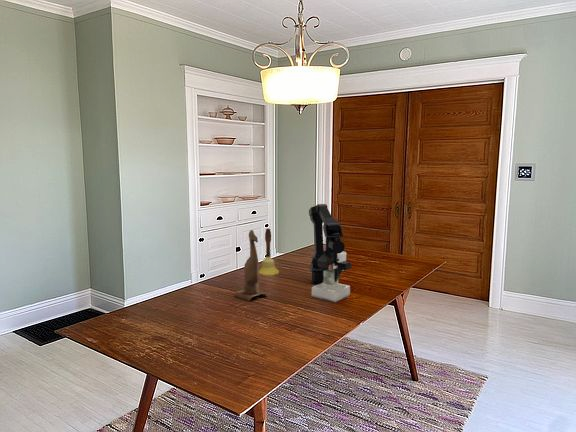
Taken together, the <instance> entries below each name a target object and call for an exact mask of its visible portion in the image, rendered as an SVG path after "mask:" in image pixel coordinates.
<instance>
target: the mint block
mask: <svg viewBox="0 0 576 432" xmlns="http://www.w3.org/2000/svg"><path fill="white" fill-rule="evenodd" d="M324 283H325V284H329V285H334V284H337V283H339V279H338V280H337V282H335V271H334V269H333V268H329V269H327V270H325V271H324Z"/></svg>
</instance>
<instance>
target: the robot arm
mask: <svg viewBox="0 0 576 432" xmlns="http://www.w3.org/2000/svg"><path fill="white" fill-rule="evenodd" d="M308 216H309V219H310V220H309V221H311V222H312V225H313V238H314V239H313V243H314V253H313V255H312V257H311V261H310V263H309V271H310V272H311V281H310V282H309V283H310V284H314V285H318V284H321V283H323V282H324V271H325V270H327V269H330V266H333V265H334V266H336V268H335V269H334V271H335V282H337V280H338V281H339V278H340V276H341V274H342V272H343V271H342V270H344V271H348V270H349V269H352V263H351V262H350V261H347V260H346V261H342V262H337V261H339V259H338V253H341V252H345V248H346V247H345V243H344V242H343V241H342V240H341V238H344V233H343V231H344V230H343V229H342V226H341V224H340V222H339V221H338V220H337V219H336V218H334V217H333V216H332V214H331V212H330V210H329V209H328V205H327V204H325V203H320V204H316V205H314V206H311V207H310V208H309V209H308ZM324 237H325V249H324ZM333 263H335V264H333Z"/></svg>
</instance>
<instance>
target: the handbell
mask: <svg viewBox="0 0 576 432" xmlns="http://www.w3.org/2000/svg"><path fill="white" fill-rule="evenodd" d="M264 240H265V247H266V249H265V252H266V253H265V255H266V257H265V258H264V259H262V263H261V264H262V266H261V268H260V269H259V273H260V274H263V275H262V276H276V275H278V274H279V273H280V271H279V270H278V269H277V268H276V266H275V260H274V259H273V258H271V243H272V242H271V241H272V232H271V228H266V229H265V234H264ZM260 274H259V275H260ZM275 274H276V275H275Z"/></svg>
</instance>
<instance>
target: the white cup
mask: <svg viewBox="0 0 576 432" xmlns="http://www.w3.org/2000/svg"><path fill="white" fill-rule="evenodd" d="M338 259H339V261H337V262H342V261H347V252H346V251H343V252H341V253H338ZM333 264H335V263H333ZM332 266H333V268H332V269H335V268H336V266H334V265H332ZM344 271H345V270H342V272H344Z"/></svg>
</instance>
